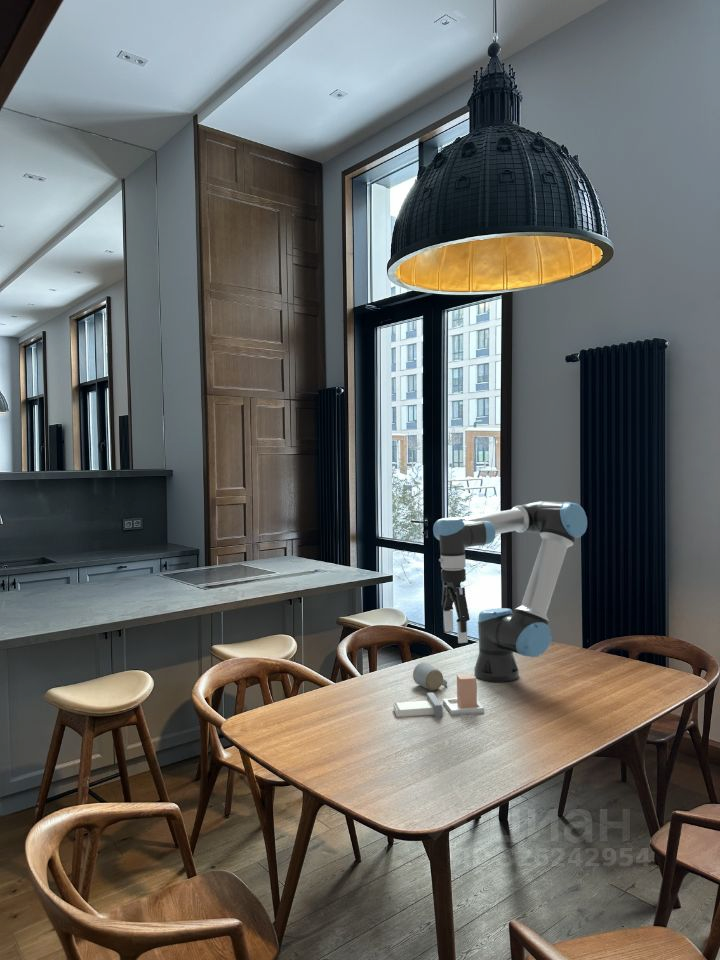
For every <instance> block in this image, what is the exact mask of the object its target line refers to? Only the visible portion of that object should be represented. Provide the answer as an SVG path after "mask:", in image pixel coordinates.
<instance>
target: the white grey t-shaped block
mask: <svg viewBox="0 0 720 960" xmlns="http://www.w3.org/2000/svg"><path fill="white" fill-rule="evenodd" d="M392 704H393V712H394V713H395V715H396V717H398V718H400V717H401V718H403V717H413V716H414V717H415V716H425V715H427V716H428V715H429V716H430V715H434V717H435V718H442V717H443V714H444V706H443V705H442V704H443V703H441V702H440V700H439V699H438V697H437V696H436V694H435V693H434V692H426V700H419V701H417V700H416V701H406V702H404V701H403V702H402V701H401V702H393V703H392Z"/></svg>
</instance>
